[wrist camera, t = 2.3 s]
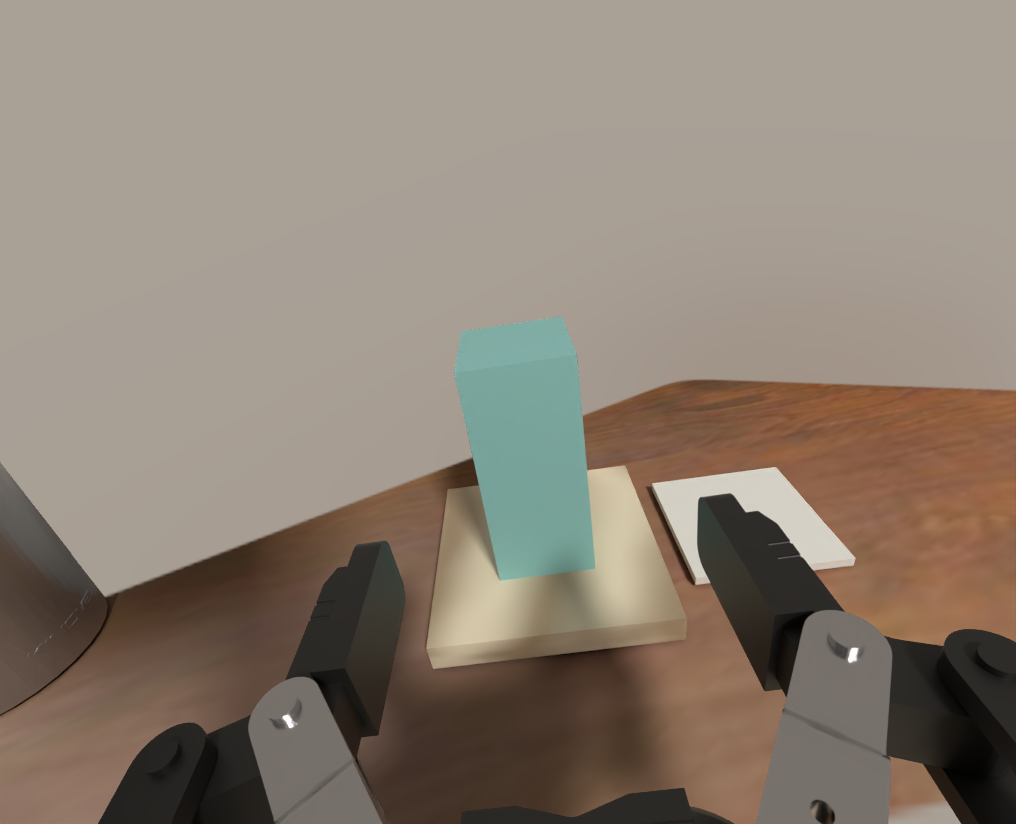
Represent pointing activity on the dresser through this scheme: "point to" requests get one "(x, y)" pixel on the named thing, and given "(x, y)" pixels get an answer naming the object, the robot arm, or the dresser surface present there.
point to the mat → (753, 494)
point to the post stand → (551, 587)
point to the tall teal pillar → (528, 445)
